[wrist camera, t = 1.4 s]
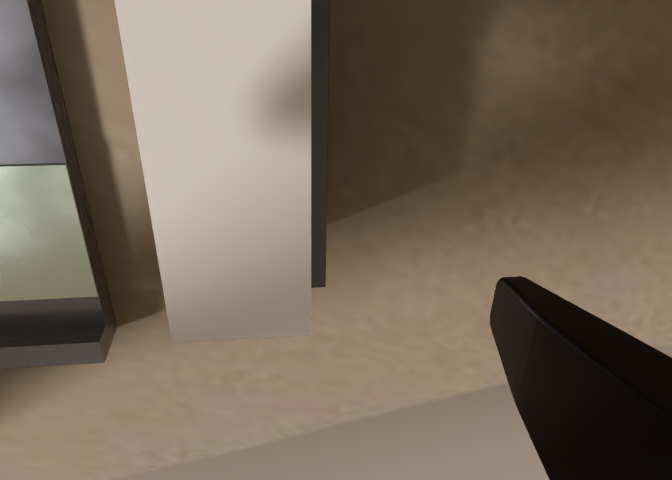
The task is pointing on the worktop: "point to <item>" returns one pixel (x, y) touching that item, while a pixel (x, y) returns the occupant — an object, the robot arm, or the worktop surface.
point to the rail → (43, 212)
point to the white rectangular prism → (233, 158)
